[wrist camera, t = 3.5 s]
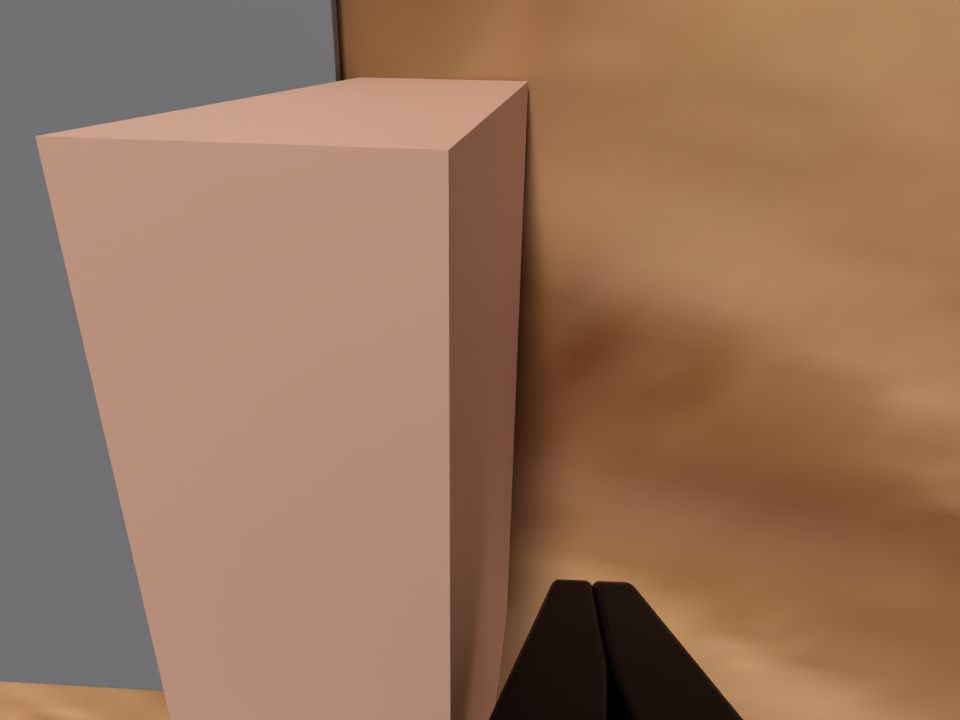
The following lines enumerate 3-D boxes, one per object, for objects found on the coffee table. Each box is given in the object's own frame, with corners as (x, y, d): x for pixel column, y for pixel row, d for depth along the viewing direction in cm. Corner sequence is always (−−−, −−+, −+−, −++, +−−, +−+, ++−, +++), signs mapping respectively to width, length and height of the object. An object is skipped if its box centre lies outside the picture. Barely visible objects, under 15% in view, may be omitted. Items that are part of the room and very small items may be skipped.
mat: (328, -125, 9) (323, -130, 9) (377, 691, 16) (375, 703, 15) (-518, -130, 10) (-548, -135, 10) (-148, 660, 16) (-160, 671, 16)
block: (527, 80, 10) (449, 149, 4) (507, 612, 14) (451, 1059, 8) (359, 77, 11) (34, 135, 4) (386, 599, 15) (240, 1022, 8)
